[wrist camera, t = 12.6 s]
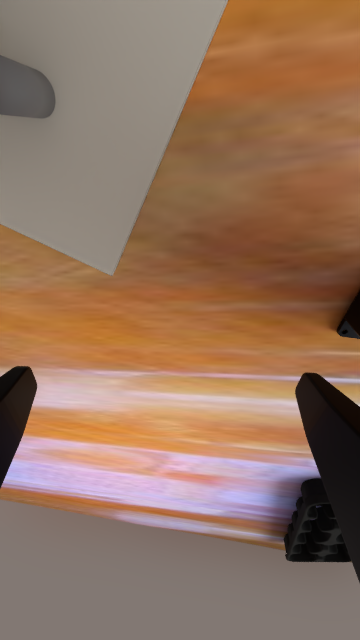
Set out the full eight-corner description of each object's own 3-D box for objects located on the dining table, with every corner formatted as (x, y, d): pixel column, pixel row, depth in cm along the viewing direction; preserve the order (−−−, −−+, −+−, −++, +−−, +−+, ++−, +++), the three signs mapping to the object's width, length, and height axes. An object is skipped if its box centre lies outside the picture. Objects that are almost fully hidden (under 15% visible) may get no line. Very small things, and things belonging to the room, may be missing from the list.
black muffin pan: (388, 465, 37) (406, 495, 34) (373, 537, 53) (384, 562, 50) (261, 479, 41) (266, 507, 38) (283, 542, 57) (288, 566, 54)
